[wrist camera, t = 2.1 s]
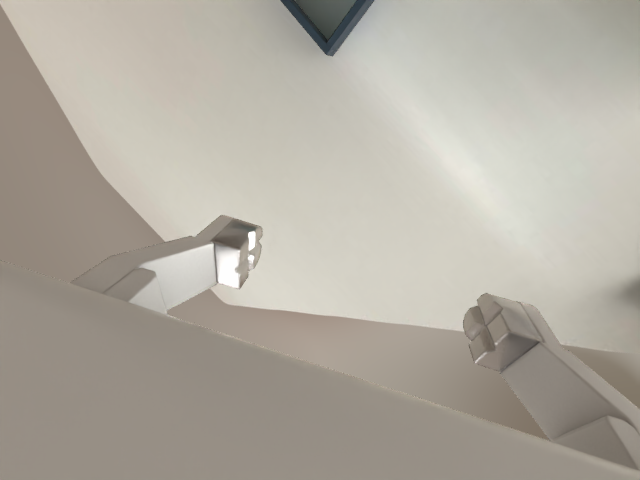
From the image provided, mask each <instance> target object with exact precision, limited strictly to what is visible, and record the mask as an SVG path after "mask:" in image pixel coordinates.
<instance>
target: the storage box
mask: <svg viewBox="0 0 640 480" xmlns="http://www.w3.org/2000/svg"><path fill="white" fill-rule="evenodd" d="M281 2H282V3H283V4H284V5H285V6H286V8H287V9H288V10H289V11H290V12H291V14H292V15H293V16H294V17H295V18H296V19H297V21H298V22H299V23H300V24H301V25H302V27H303V28H304V29H305V30H306V31H307V33H308V34H309V35H310V36H311V37H312V39H313V40H314V41H315V42H316V43H317V44H318V46H319V47H320V48H321V49H322V50H323V52H324V53H325V54H326V55H329V56H333V55H334V54H335V52H336V51H337V50H338V48H339V47H340V46H341V44H342V43H343V42H344V40H345V39H346V38H347V36H348V35H349V34H350V32H351V31H352V30H353V28H354V27H355V26H356V24H357V23H358V22H359V20H360V19H361V18H362V16H363V15H364V14H365V12H366V11H367V10H368V8H369V7H370V6H371V4H372V3H373V2H374V0H357V1H356V2H355V4H354V5H353V7H352V8H351V9H350V11H349V12H348V14H347V15H346V16H345V18H344V19H343V21H342V22H341V23H340V25H339V26H338V28H337V29H336V30H335V32H334V33H333V35H332V36H331V37H330V39H329V40H327V39H326V38H325V37H324V35H323V34H322V33H321V32H320V31H319V29H318V28H317V27H316V26H315V25H314V23H313V22H312V21H311V20H310V18H309V17H308V16H307V15H306V14H305V12H304V11H303V10H302V9H301V8H300V6H299V5H298V4H297V3H296V1H295V0H281Z"/></svg>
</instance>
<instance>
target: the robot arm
mask: <svg viewBox="0 0 640 480" xmlns="http://www.w3.org/2000/svg"><path fill="white" fill-rule="evenodd" d="M261 237H262V227H261V226H258V225H255V224H251V223H248V222H245V221H242V220H239V219H235V218H232V217H229V216H225V215H221V216H219V217H218V218H217V219H216V220H214V221H213V222H212V223H211V224H210V225H208V226H207V227H206V228H205V229H204V230H202V231H201V232H200V233H199V234H198V235H197V236H195V237H193V236H188V237H184V238H180V239H176V240H172V241H168V242H164V243H161V244H156V245H153V246H148V247H145V248H141V249H137V250H133V251H129V252H125V253H121V254H117V255H113V256H110V257H108V258H107V259H105V260H104V261H102V262H101V263H99V264H98V265H96V266H95V267H93V268H92V269H90V270H88V271H87V272H85V273H84V274H82V275H81V276H79V277H78V278H76V279H75V280H73V281H72V282H70V283H69V282H66V281H62V280H59V279H56V278H53V277H50V276H47V275H44V274H41V273H38V272H35V271H32V270H29V269H25V268H23V267H20V266H17V265H14V264H11V263H8V262H5V261H2V260H0V480H640V409H639V408H638V407H636V406H635V405H634V404H633V403H631V402H630V401H629V400H628V399H627V398H625V397H624V396H623V395H622V394H621V393H619V392H618V391H617V390H616V389H615V388H613V387H612V386H611V385H610V384H609V383H607V382H606V381H605V380H604V379H602V378H601V377H600V376H599V375H597V374H596V373H595V372H594V371H593V370H592V369H590V368H589V367H588V366H587V365H586V364H584V363H583V362H582V361H581V360H579V359H578V358H577V357H576V356H575V355H574V354H572V353H571V352H570V351H569V350H566V349H563V347H562V346H561V344H560V343H559V341H558V340H557V338H556V337H555V335H554V334H553V332H552V331H551V329H550V328H549V326H548V325H547V323H546V321H545V320H544V318H543V317H542V315H541V314H540V312H539V311H538V309H537V308H535V307H534V306H532V305H529V304H525V303H521V302H517V301H512V300H509V299H505V298H502V297H498V296H495V295H491V294H488V293H485V294H483V295H481V296H480V297H479V298H478V299H477V303H478V306H475V307H472V308H470V309H469V310H468V311H467V313H466V314H465V316H464V320H463V328H464V332H465V334H466V335H467V337H468V338H469V339H470V340H471V342H470V344H469V348H470V351H471V354H472V358H473V361H474V363H475V364H478V365H481V366H484V367H487V368H490V369H493V370H496V371H498V372H501V373H500V374H501V375H502V377H503V378H504V380H505V381H506V382H507V384H508V385H509V386H510V388H511V389H512V390H513V392H514V393H515V394H516V396H517V397H518V398H519V400H520V401H521V402H522V404H523V405H524V406H525V408H526V409H527V410H528V411H529V413H530V414H531V416H532V417H533V418H534V419H535V420H536V422H537V424H538V425H539V426H540V427H541V429H542V430H543V432H544V433H545V434H546V436H547V437H548V438H549V441H548V440H545V439H542V438H539V437H536V436H533V435H530V434H527V433H524V432H521V431H518V430H515V429H512V428H509V427H506V426H503V425H500V424H497V423H493V422H491V421H487V420H484V419H481V418H478V417H475V416H472V415H469V414H466V413H463V412H460V411H457V410H454V409H451V408H448V407H445V406H442V405H438V404H436V403H432V402H429V401H426V400H423V399H420V398H417V397H414V396H411V395H408V394H405V393H402V392H399V391H396V390H393V389H390V388H386V387H383V386H381V385H378V384H375V383H372V382H369V381H366V380H363V379H360V378H357V377H354V376H351V375H348V374H345V373H342V372H339V371H335V370H332V369H329V368H326V367H323V366H320V365H317V364H314V363H311V362H308V361H305V360H302V359H299V358H296V357H293V356H290V355H287V354H284V353H281V352H278V351H275V350H272V349H269V348H266V347H263V346H260V345H257V344H254V343H251V342H248V341H244V340H241V339H238V338H235V337H232V336H229V335H226V334H223V333H220V332H217V331H214V330H211V329H208V328H205V327H202V326H199V325H196V324H193V323H190V322H187V321H184V320H181V319H178V318H174V317H172V316H169V315H168V314H167V310H169V309H171V308H173V307H175V306H176V305H178V304H180V303H182V302H184V301H186V300H188V299H190V298H192V297H193V296H196V295H197V294H199V293H201V292H203V291H205V290H207V289H209V288H211V287H213V286H214V285H216V284H217V283H219V284H222V285H226V286H229V287H233V288H236V289H240V288H241V287H242V285H243V284H244V282H245V281H246V279H247V278H248V271H250V270H252V269H254V268H255V266H256V265H257V263H258V260H259V258H260V254H261V248H262V246H261V244H260V242H259V240H260V239H261Z"/></svg>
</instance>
